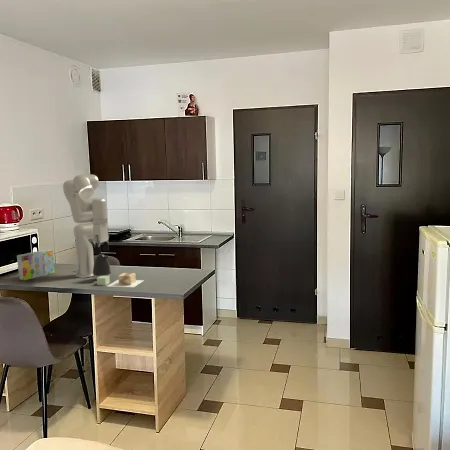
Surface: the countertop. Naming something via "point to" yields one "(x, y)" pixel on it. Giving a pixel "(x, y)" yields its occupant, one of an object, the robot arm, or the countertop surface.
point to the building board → (116, 284)
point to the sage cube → (103, 280)
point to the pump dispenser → (101, 266)
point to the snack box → (35, 264)
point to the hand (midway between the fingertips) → (102, 252)
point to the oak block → (127, 278)
